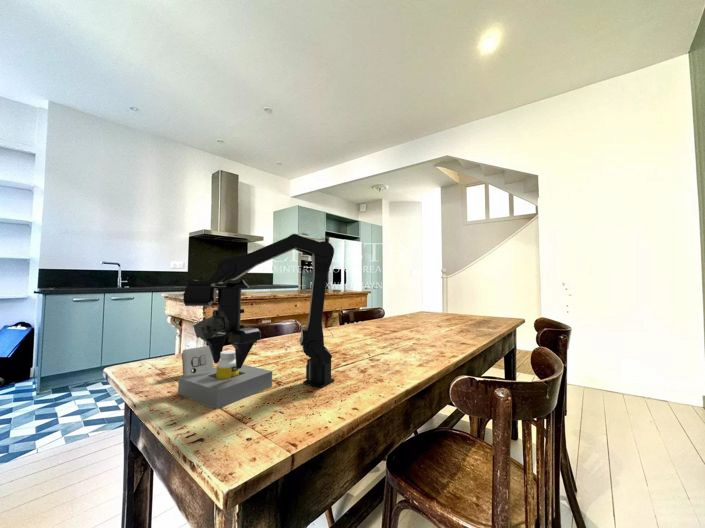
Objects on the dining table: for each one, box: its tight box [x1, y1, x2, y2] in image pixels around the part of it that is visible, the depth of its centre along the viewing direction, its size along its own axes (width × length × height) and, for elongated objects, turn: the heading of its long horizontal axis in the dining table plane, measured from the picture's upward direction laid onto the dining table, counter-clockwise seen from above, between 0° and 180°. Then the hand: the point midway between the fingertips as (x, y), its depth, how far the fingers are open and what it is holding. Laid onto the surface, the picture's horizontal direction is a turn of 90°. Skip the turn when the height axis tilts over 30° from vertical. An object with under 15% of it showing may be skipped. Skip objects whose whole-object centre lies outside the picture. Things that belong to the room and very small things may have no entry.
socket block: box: [177, 364, 273, 410], centre depth 73 cm, size 16×16×4 cm
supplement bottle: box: [216, 349, 239, 380], centre depth 73 cm, size 5×5×10 cm
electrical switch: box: [181, 345, 215, 377], centre depth 86 cm, size 8×5×8 cm, turn 141°
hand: (227, 365), depth 73 cm, fingers open, 9 cm apart
